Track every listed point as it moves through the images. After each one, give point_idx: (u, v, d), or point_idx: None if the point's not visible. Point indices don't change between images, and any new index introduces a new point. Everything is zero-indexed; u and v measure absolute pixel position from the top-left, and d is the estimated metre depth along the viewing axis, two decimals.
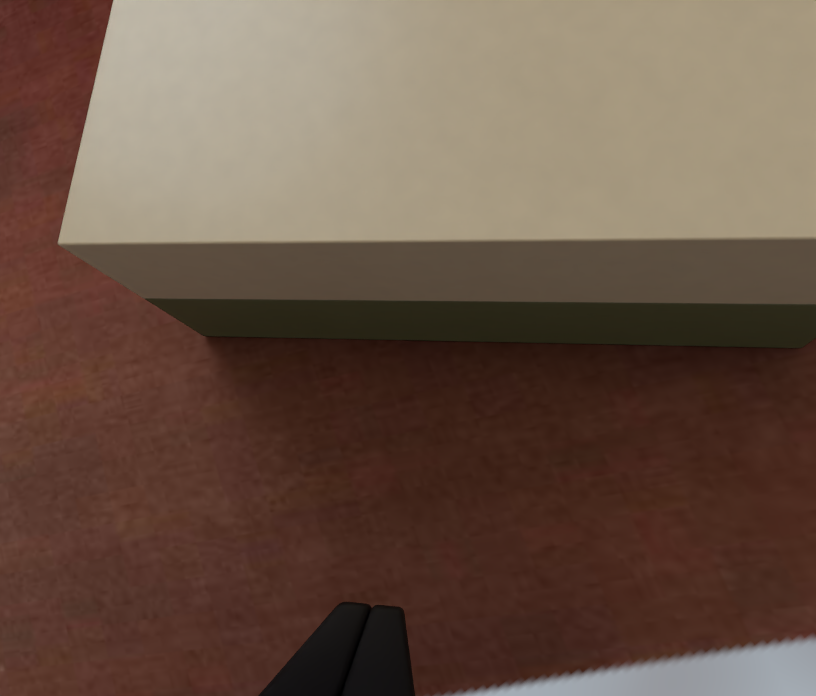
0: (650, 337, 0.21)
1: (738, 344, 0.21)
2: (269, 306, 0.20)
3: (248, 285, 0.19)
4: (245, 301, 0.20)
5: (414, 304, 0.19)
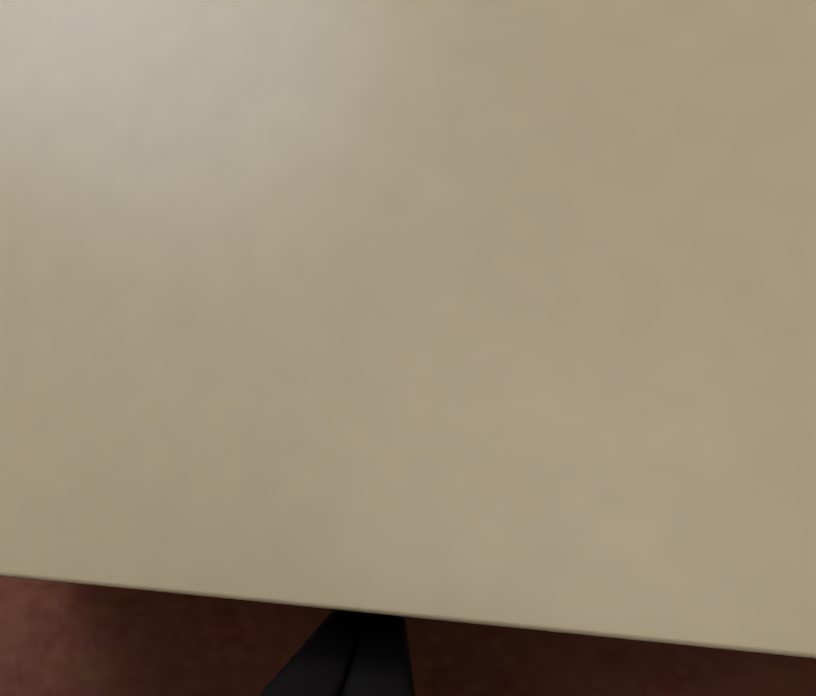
0: None
1: None
2: None
3: None
4: None
5: None
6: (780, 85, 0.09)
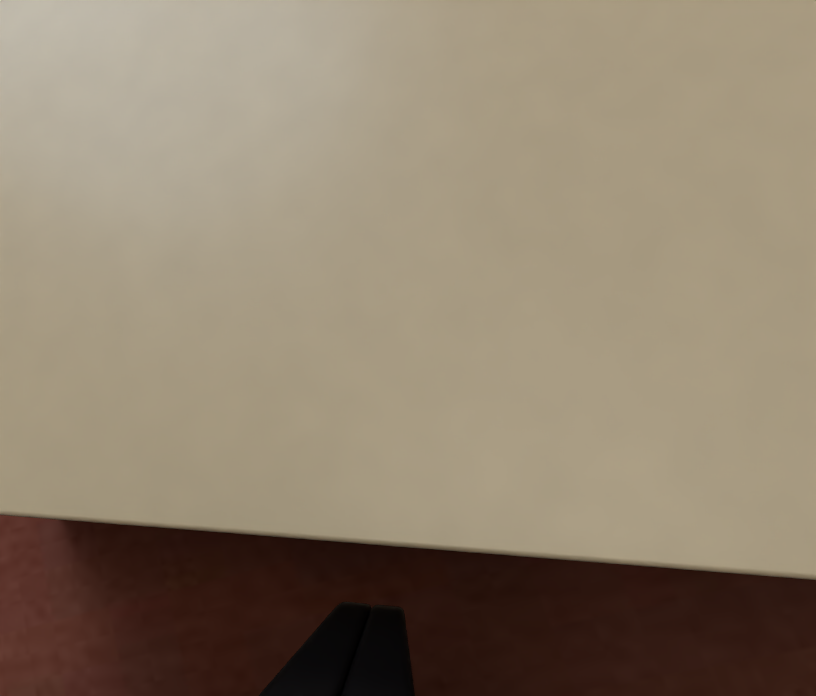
0: None
1: None
2: None
3: None
4: None
5: None
6: (782, 20, 0.08)
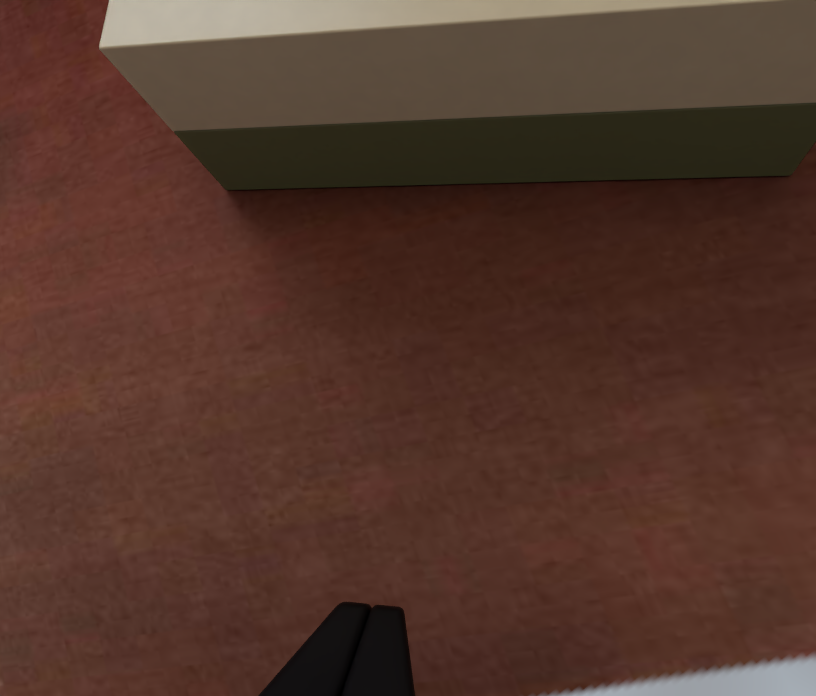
0: (649, 166, 0.22)
1: (731, 172, 0.22)
2: (291, 136, 0.22)
3: (273, 103, 0.20)
4: (268, 129, 0.22)
5: (427, 125, 0.21)
6: None
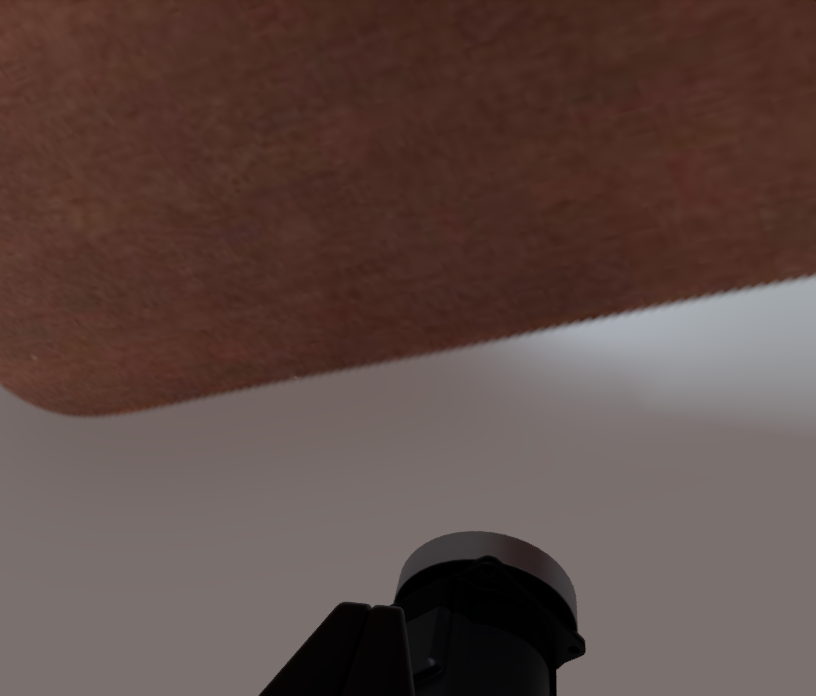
0: None
1: None
2: None
3: None
4: None
5: None
6: None
